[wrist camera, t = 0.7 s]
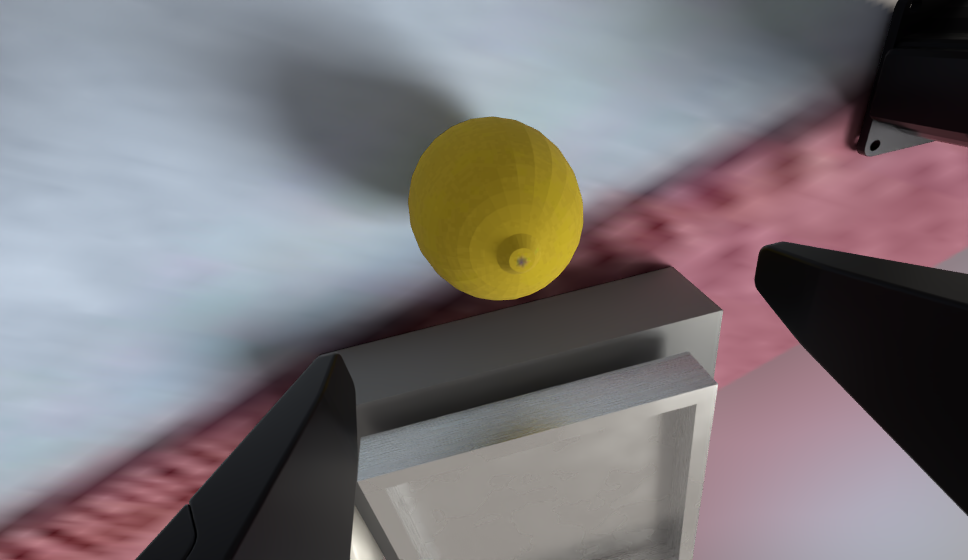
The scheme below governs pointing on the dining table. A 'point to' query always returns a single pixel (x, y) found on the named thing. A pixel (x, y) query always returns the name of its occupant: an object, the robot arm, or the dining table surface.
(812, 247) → the robot arm
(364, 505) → the scale
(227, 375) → the dining table surface
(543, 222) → the lemon
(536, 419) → the pan
